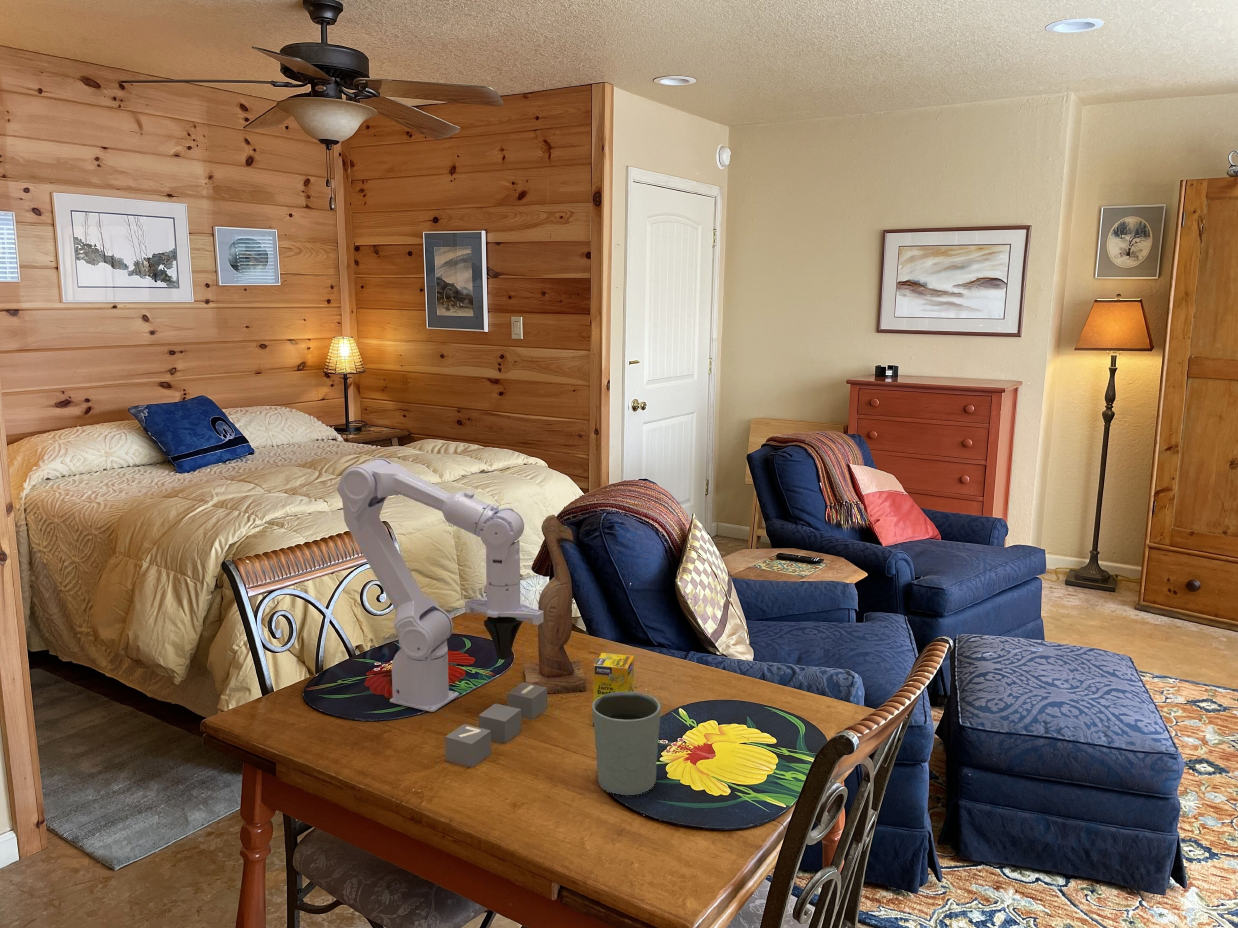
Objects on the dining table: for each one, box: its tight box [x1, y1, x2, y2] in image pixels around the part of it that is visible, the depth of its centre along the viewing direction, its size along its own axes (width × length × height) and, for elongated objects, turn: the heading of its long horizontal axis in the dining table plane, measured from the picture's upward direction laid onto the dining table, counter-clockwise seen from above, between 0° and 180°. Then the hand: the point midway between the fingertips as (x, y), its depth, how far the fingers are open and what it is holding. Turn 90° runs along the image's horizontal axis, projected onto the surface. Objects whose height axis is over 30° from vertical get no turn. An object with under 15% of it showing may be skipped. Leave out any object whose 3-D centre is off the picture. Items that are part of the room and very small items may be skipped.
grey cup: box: [591, 691, 662, 795], centre depth 135 cm, size 10×10×12 cm
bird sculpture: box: [522, 514, 587, 695], centre depth 169 cm, size 11×12×32 cm
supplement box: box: [592, 652, 635, 728], centre depth 154 cm, size 6×6×11 cm
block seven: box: [444, 723, 492, 768], centre depth 142 cm, size 5×5×4 cm
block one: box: [506, 682, 548, 721], centre depth 158 cm, size 5×5×4 cm
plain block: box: [478, 703, 522, 745], centre depth 150 cm, size 5×5×4 cm
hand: (504, 657), depth 158 cm, fingers closed
